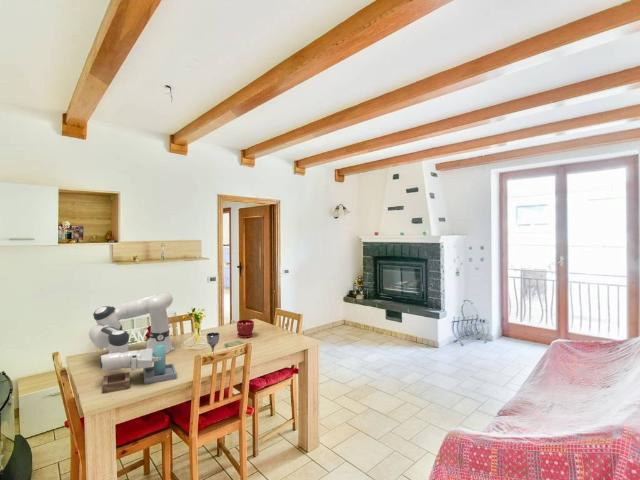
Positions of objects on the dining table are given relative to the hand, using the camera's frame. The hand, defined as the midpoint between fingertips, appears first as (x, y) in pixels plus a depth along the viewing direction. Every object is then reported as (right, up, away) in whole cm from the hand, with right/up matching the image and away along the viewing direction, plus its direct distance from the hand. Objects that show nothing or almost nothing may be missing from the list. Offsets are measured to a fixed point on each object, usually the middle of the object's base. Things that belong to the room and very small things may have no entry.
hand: (161, 355), depth 194 cm
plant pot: (+31, -11, +75) cm, 82 cm away
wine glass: (+19, -11, +31) cm, 38 cm away
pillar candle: (-1, -9, 0) cm, 9 cm away
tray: (-1, -11, 0) cm, 12 cm away
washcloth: (+31, -12, +50) cm, 60 cm away
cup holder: (-17, -11, -14) cm, 25 cm away
